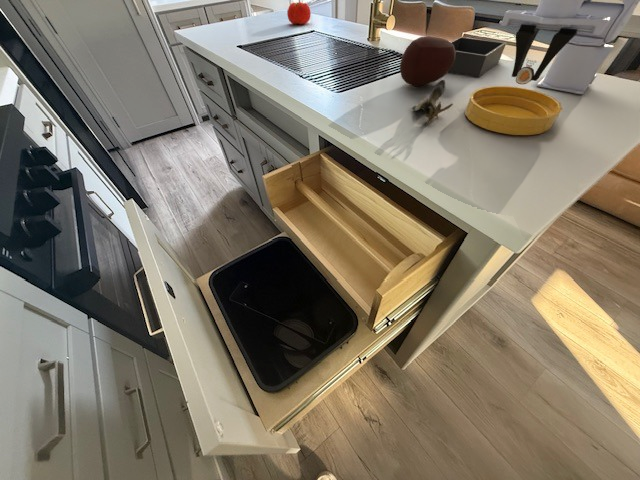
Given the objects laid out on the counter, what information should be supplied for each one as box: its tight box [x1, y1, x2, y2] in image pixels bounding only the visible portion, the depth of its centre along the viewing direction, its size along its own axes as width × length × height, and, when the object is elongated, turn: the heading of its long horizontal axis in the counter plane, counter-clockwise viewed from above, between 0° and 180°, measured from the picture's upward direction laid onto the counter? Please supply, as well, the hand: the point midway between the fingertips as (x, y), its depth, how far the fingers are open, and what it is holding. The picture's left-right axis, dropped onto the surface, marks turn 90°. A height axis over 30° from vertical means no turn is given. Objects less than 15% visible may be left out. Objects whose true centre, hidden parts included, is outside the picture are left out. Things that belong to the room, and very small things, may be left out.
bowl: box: [464, 85, 563, 136], centre depth 54 cm, size 16×16×4 cm
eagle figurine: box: [411, 79, 454, 126], centre depth 55 cm, size 8×7×9 cm
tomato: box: [286, 1, 311, 25], centre depth 125 cm, size 11×11×8 cm
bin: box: [447, 36, 507, 79], centre depth 76 cm, size 13×15×5 cm
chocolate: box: [515, 57, 537, 85], centre depth 50 cm, size 3×2×4 cm
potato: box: [399, 35, 456, 87], centre depth 66 cm, size 11×13×10 cm
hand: (524, 77), depth 51 cm, fingers closed on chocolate, 3 cm apart
